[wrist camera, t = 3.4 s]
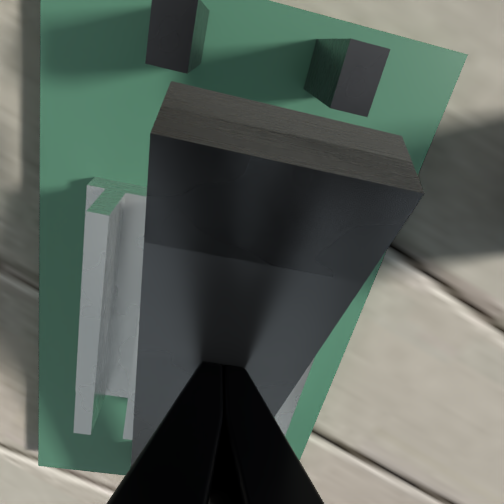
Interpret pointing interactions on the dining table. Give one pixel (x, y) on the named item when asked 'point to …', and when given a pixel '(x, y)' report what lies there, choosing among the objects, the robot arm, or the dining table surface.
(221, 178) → the strap
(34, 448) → the dining table surface
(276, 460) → the robot arm
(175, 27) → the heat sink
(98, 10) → the circuit board
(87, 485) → the dining table surface
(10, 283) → the dining table surface
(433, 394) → the dining table surface
